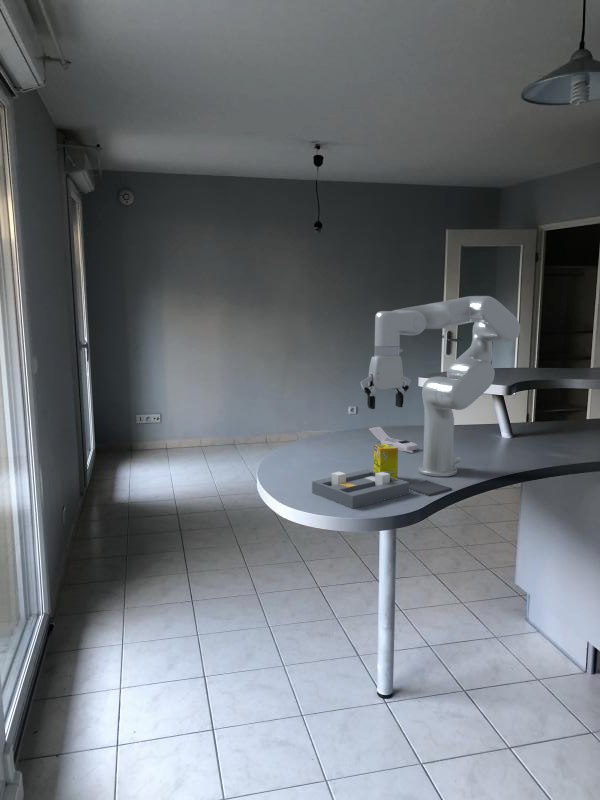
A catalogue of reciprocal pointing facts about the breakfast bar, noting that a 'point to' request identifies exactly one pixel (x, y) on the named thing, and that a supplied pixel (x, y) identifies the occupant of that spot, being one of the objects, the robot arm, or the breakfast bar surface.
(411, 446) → the mobile phone
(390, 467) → the supplement box
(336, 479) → the switch
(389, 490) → the grey compartment tray
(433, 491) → the mat
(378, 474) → the switch
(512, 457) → the breakfast bar surface
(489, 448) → the breakfast bar surface
